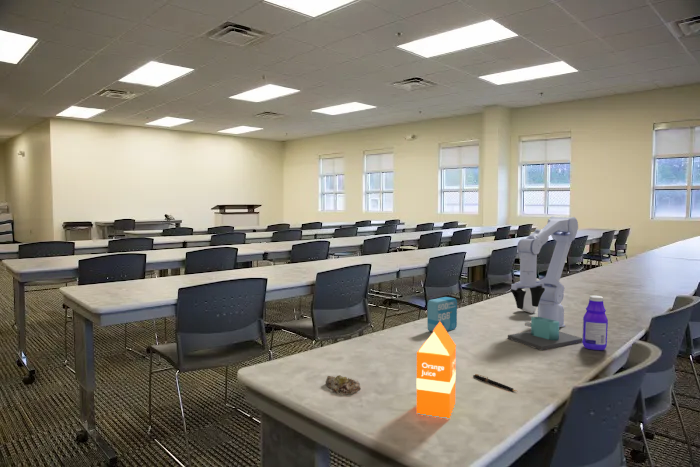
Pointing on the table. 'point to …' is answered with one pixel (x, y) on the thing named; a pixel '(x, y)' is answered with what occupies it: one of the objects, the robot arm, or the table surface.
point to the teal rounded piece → (544, 328)
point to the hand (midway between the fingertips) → (527, 307)
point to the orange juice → (436, 374)
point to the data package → (442, 313)
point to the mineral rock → (342, 384)
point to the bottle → (595, 324)
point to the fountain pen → (492, 382)
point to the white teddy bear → (528, 301)
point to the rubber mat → (544, 340)
